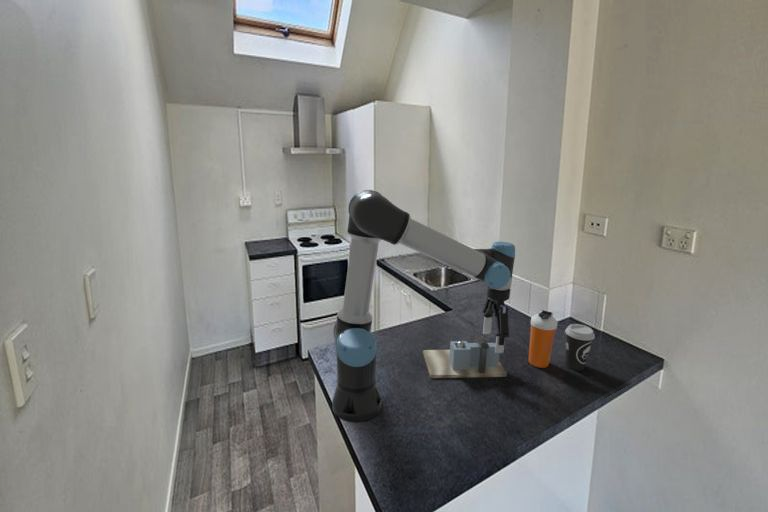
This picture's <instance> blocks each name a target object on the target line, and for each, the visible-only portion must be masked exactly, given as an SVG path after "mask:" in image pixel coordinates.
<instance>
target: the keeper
mask: <svg viewBox="0 0 768 512" xmlns="http://www.w3.org/2000/svg"><path fill="white" fill-rule="evenodd" d="M474 340H475V343H477V344H478V345H479V347H480V358H479V372H480V373H485V368H486V357H487V349H489V345H488V343H489V342H488V341H487V340H486V338H485V337H484V336H483V335H475V336H474Z"/></svg>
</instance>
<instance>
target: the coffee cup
mask: <svg viewBox="0 0 768 512" xmlns="http://www.w3.org/2000/svg"><path fill="white" fill-rule="evenodd" d="M564 332H565V334H566V336H565V355H564V366H565V367H567V368H568V369H569V370H570V369H571V370H573V371H583V370H584V369H585V367H586V364H587V361H588V357H589V353H590V351H591V350H590V349H591V347H592V343H593V340H595V338H596V337H595V332H594V330H593V329H592V328H591V327H589V326H587V325H584V324H580V323H571V324H569V325H568V326H567V327H566V329H565V330H564Z"/></svg>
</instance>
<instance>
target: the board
mask: <svg viewBox="0 0 768 512" xmlns="http://www.w3.org/2000/svg"><path fill="white" fill-rule="evenodd" d="M422 354H423V357H424V361H425V364H426V368H427V371H428V375H429V378H430V379H448V378H449V379H452V378H453V379H455V378H456V379H457V378H459V379H460V378H461V379H463V378H502V377H503V378H504V377H506V378H507V375H508V374H507V372H506V370H505V369H504V367H503V365H502V363H501V362H500V361H499V365H498V367H486V368H485V373H480V372H479V367H470V369H469V370H453V369H452V366H451V364H450V362H449V356H450V349H424V350H422Z"/></svg>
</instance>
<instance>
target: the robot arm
mask: <svg viewBox="0 0 768 512" xmlns="http://www.w3.org/2000/svg"><path fill="white" fill-rule="evenodd" d="M347 211H348V214H349V215H348V222H347V231H346V233H347V234H348V236H350V238H351V239H350V248H349V255H348V264H347V272H346V280H345V287H344V296H343V304H342V308H341V309H340V310H338V311H337V313H336V321H335V324H334V327H333V339H334V345H335V347H334V348H335V355H336V371H337V372H336V374H337V375H336V377H337V379H336V380H337V385H336V388H335V390H334V394H333V397H332V402H331V403H332V405H331V406H332V411H333V413H334V415H335V416H336V417H337V418H339V419H340V420H342V421H345V422H349V423H363V422H366V421H370V420H372V419H373V418H375V417H376V416H377V415H378V414H379V413H380V412H381V410H382V404H383V403H382V395H381V393H380V390H379V387H378V384H377V351H378V350H377V349H378V348H377V347H378V346H377V341H376V338H375V336H374V334H373V333H372V332H371V330H372V323H373V315H372V314H371V313H370V305H371V299H372V292H373V285H374V278H375V272H376V271H375V270H376V263H377V257H378V251H379V250H378V249H379V243H380V242H381V241H383V242H386V243H390V244H391V245H393V246H396V245H399V244H400V245H402V246H404V247H407V248H409V249H411V250H413V251H416V252H417V253H419V254H421V255H425V256H426V257H428V258H431V259H432V260H435V261H437V262H439V263H442V264H444V265H446V266H448V267H451V268H453V269H454V270H457V271H458V272H461V273H463V274H466V275H469V276H470V277H473V278H474V279H477V280H479V281H481V282H483V283H484V284H486V286H487V289H486V290H487V292H486V297H487V298H486V301H485V303H484V307H483V309H482V314H483V317H484V318H483V325H482V327H483V328H482V334H483V335H491V333H492V332H491V331H492V325H493V317H495V320H496V328H497V334H496V335H495V336H496V337H495V338H496V339H495V343H496V346H495V353H500V354H502V353H503V354H504V352H505V351H504V350H505V341H506V338H509V337H510V333H509V332H510V330H509V329H510V328H509V315H508V313H509V307H508V306H505V302H506V301H508V300H509V299H510V296H511V294H510V293H511V287H512V284H513V283H512V281H513V273H514V264H515V258H516V245H515V244H513V243H512V242H507V241H494V242H493V243H492V245H491V248H472V247H470V246H468V245H466V244H464V243H462V242H460V241H458V240H456V239H454V238H452V237H450V236H447V235H446V234H443V233H442V232H439V231H437V230H435V229H433V228H431V227H429V226H427V225H424V224H423V223H420V222H419V221H417V220H415V219H413V218H412V217H411V214H410V213H409V212H406V211H405V210H403V209H402V208H400V207H398V206H397V205H395V204H393V202H391V201H390V200H389V199H388V198H387V197H385V196H384V195H382V193H380V192H378V191H376V190H373V189H363V190H360V191H358V192H357V193H355V194H354V195H353V196H352V197H351V198H350V200H349V203H348V210H347Z"/></svg>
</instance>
